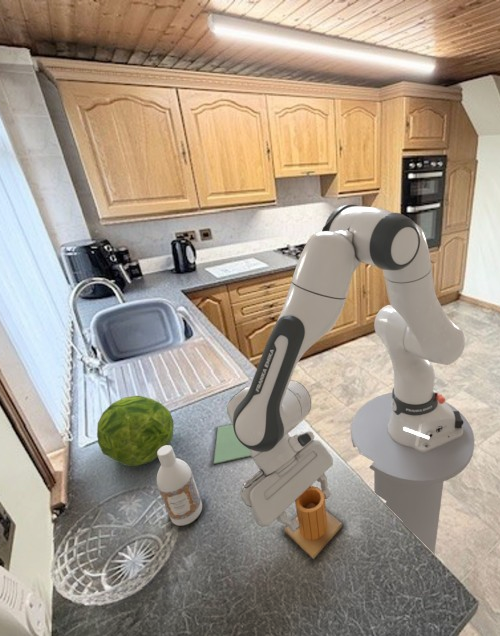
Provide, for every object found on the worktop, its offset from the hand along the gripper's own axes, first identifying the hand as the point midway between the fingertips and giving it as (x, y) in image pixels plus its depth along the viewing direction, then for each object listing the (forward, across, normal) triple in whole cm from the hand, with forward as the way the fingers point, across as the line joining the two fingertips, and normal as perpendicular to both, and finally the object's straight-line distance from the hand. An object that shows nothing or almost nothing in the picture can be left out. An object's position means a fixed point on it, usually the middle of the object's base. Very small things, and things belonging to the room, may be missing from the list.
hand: (312, 512), depth 74 cm
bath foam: (-14, -16, +23) cm, 31 cm away
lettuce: (-35, -15, +44) cm, 58 cm away
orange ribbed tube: (+3, 0, +4) cm, 5 cm away
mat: (-21, +5, +30) cm, 37 cm away
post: (+4, 0, +4) cm, 6 cm away
